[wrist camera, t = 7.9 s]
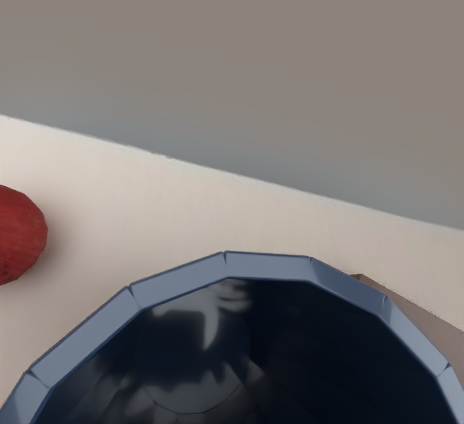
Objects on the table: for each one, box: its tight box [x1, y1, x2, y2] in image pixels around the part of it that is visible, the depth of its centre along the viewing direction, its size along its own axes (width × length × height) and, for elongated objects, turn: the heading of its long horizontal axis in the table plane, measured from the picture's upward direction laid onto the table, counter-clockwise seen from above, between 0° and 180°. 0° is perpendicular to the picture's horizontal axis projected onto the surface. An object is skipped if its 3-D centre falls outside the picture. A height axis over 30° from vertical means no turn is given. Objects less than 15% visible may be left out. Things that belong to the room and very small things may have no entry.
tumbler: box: [0, 251, 464, 424], centre depth 9 cm, size 7×7×12 cm
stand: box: [349, 274, 464, 389], centre depth 18 cm, size 11×11×4 cm
